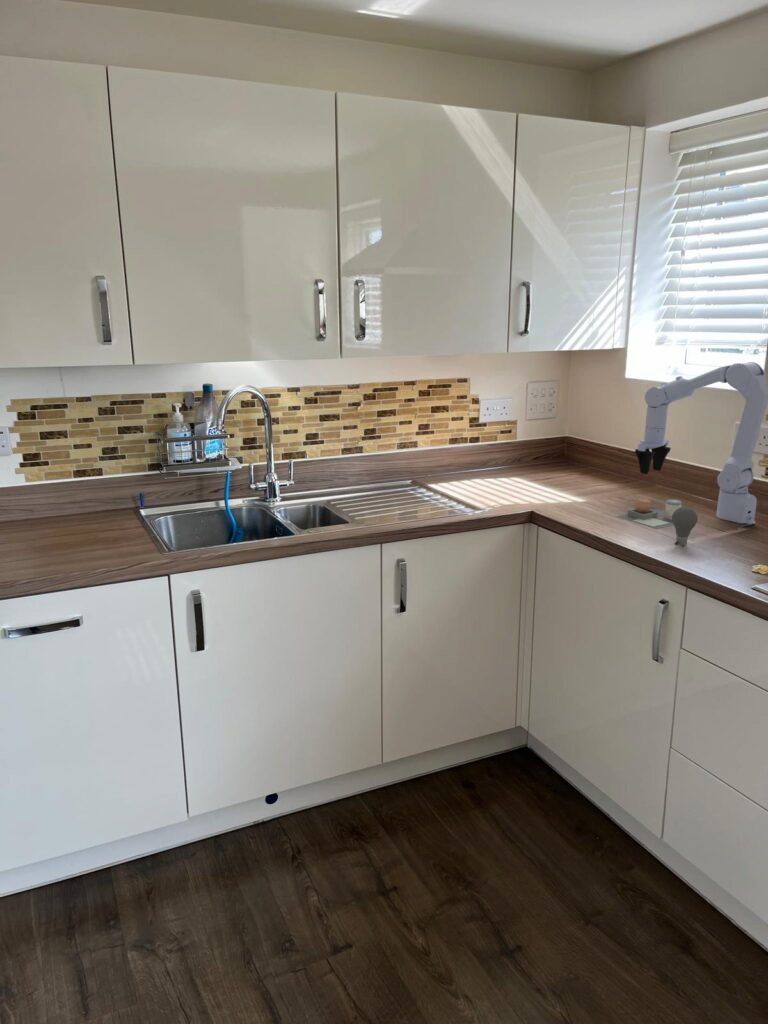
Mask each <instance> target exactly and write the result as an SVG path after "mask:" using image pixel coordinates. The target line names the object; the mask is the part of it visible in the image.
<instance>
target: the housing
mask: <svg viewBox="0 0 768 1024" xmlns="http://www.w3.org/2000/svg"><path fill="white" fill-rule="evenodd" d="M615 517H616V518H619V519H621V520H625V521H628V522H633V523H635V524H638V525H641V526H644V527H645V526H646V527H648V528H653V529H655V530H658V529H663V528H667V527H673V526H674V524H673V522H672V520H670V519H666V518H665V510H661V509H658V508H652V509H651V508H650V512H647V513H643V512H638V511H636V508H634V509H633V508H631V509H628V510H627V513H626V514H621V515H617V516H615Z"/></svg>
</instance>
